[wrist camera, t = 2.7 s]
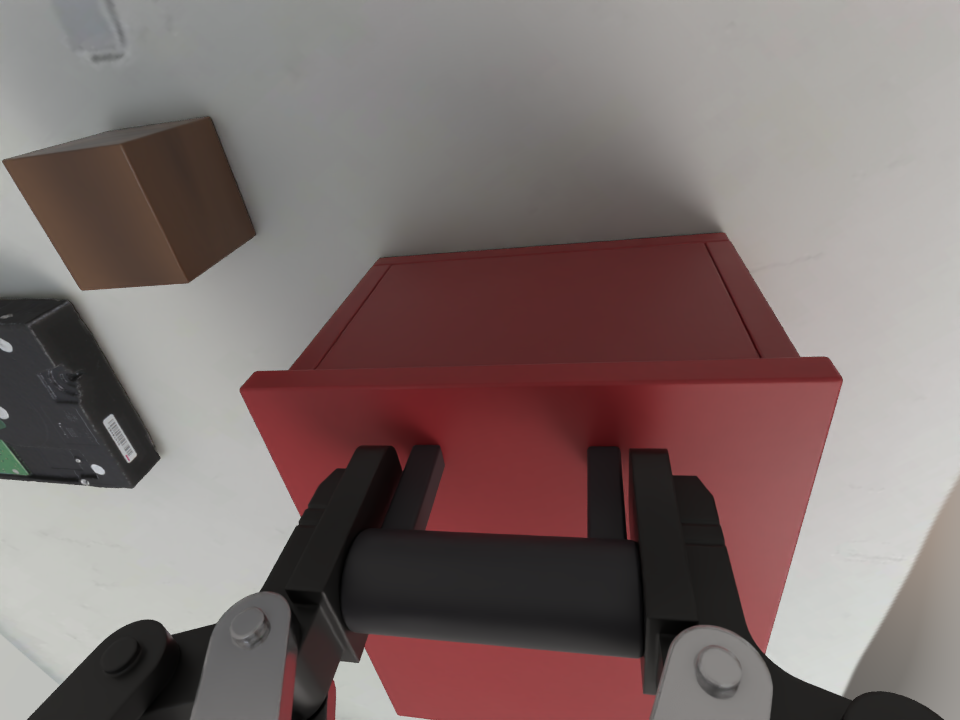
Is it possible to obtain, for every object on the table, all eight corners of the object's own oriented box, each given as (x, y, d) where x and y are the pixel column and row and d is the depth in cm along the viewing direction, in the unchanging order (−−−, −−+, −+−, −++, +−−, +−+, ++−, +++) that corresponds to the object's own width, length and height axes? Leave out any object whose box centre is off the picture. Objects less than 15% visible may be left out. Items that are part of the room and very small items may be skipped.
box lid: (254, 369, 13) (101, 539, 9) (829, 354, 10) (992, 591, 6) (402, 694, 22) (360, 854, 18) (731, 733, 19) (771, 932, 15)
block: (163, 243, 22) (80, 291, 18) (107, 131, 19) (0, 160, 16) (257, 235, 21) (188, 284, 17) (210, 115, 18) (120, 143, 15)
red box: (378, 257, 20) (267, 394, 13) (725, 231, 18) (819, 386, 11) (448, 521, 29) (403, 693, 22) (691, 531, 26) (730, 731, 19)
